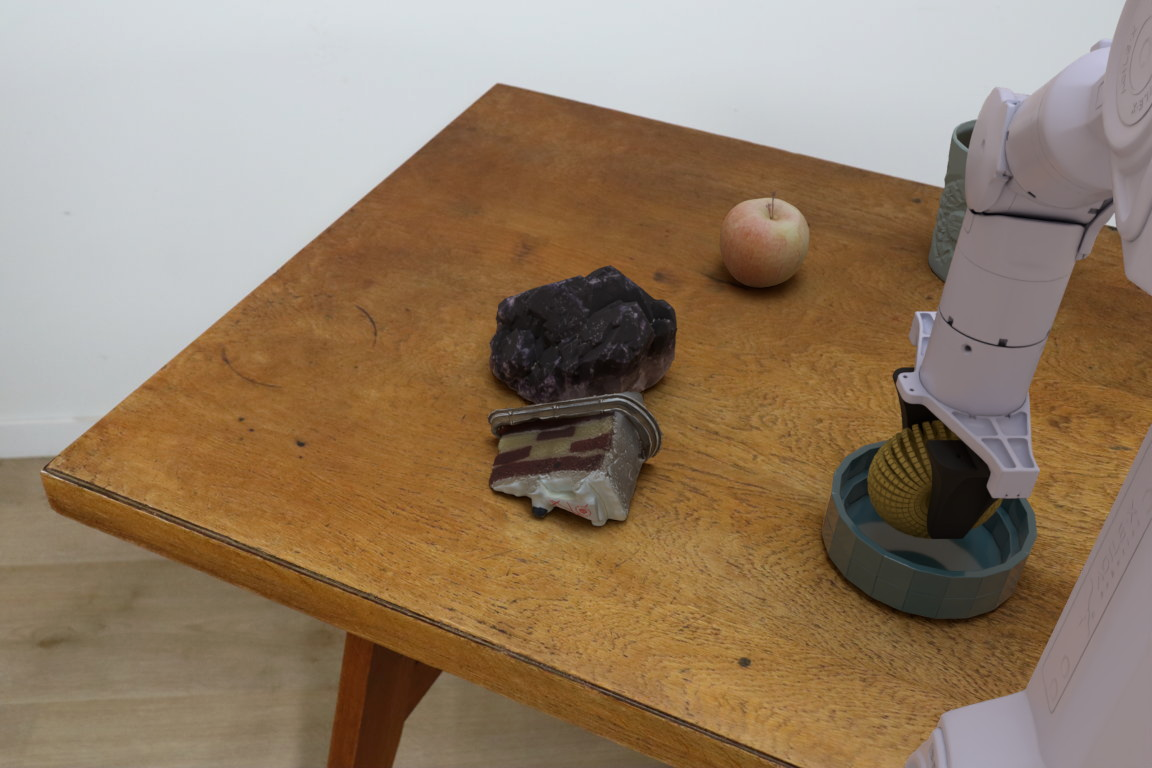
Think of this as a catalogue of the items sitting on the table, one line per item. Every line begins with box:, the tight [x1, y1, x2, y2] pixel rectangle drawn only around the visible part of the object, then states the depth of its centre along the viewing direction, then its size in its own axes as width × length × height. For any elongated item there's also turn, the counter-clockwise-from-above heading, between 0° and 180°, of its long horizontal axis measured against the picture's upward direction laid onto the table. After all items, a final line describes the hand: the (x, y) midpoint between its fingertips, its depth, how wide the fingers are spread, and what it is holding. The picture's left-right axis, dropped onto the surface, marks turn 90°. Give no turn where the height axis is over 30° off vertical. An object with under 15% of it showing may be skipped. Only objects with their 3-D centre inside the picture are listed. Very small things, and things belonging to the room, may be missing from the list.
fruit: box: [719, 190, 811, 288], centre depth 92 cm, size 8×7×8 cm
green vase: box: [928, 118, 977, 283], centre depth 94 cm, size 10×10×12 cm
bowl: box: [821, 439, 1038, 620], centre depth 68 cm, size 12×12×4 cm
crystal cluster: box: [489, 264, 678, 404], centre depth 80 cm, size 13×14×10 cm
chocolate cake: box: [486, 391, 664, 527], centre depth 71 cm, size 10×7×12 cm
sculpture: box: [867, 420, 1004, 539], centre depth 66 cm, size 8×4×8 cm, turn 87°
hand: (932, 505), depth 67 cm, fingers closed on sculpture, 4 cm apart
